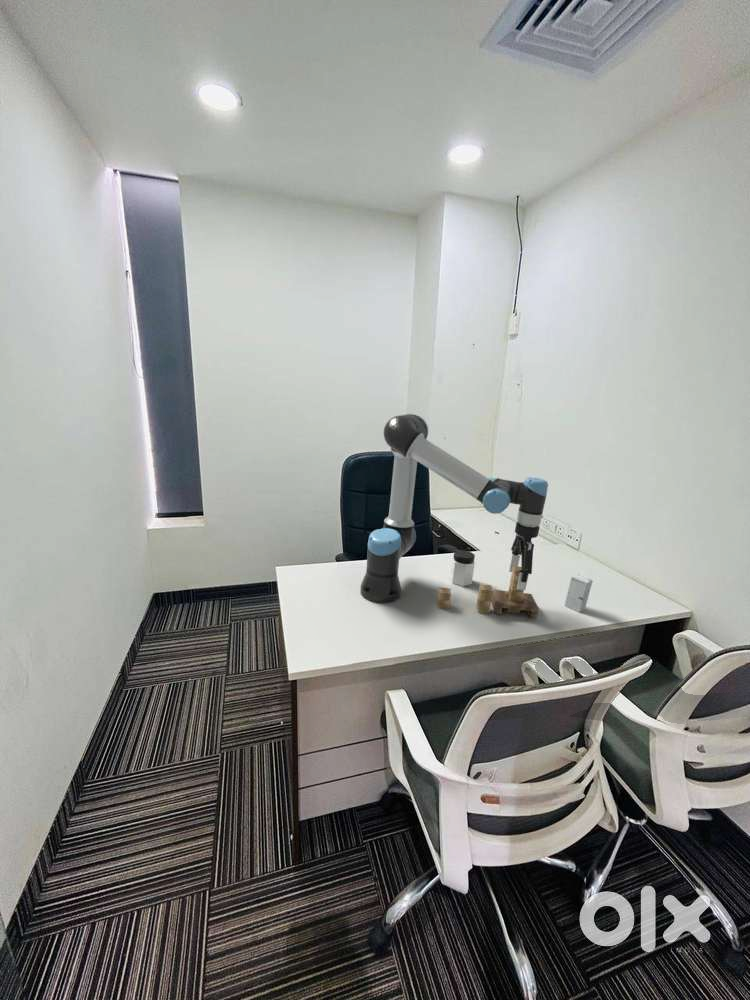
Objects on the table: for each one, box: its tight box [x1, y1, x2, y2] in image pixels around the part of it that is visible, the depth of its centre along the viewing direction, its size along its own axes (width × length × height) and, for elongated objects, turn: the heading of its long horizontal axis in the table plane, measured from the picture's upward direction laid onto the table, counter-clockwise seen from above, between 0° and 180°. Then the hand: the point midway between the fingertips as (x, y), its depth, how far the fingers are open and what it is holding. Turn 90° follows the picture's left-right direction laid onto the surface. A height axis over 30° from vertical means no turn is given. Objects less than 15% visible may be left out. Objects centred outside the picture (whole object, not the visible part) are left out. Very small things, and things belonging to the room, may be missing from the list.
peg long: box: [506, 565, 525, 614], centre depth 146 cm, size 4×4×16 cm
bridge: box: [491, 589, 539, 620], centre depth 148 cm, size 14×10×4 cm
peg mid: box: [475, 583, 494, 615], centre depth 145 cm, size 4×4×9 cm
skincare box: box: [564, 573, 593, 613], centre depth 151 cm, size 6×4×12 cm
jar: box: [449, 549, 476, 587], centre depth 166 cm, size 9×8×12 cm
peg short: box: [436, 587, 452, 610], centre depth 147 cm, size 4×4×6 cm
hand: (516, 580), depth 146 cm, fingers open, 13 cm apart
